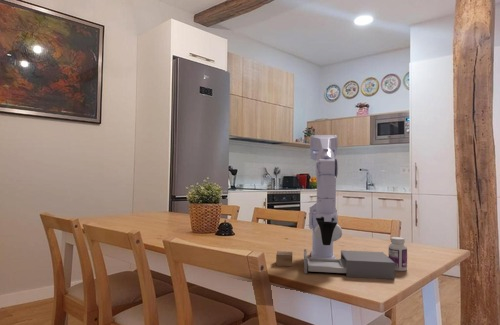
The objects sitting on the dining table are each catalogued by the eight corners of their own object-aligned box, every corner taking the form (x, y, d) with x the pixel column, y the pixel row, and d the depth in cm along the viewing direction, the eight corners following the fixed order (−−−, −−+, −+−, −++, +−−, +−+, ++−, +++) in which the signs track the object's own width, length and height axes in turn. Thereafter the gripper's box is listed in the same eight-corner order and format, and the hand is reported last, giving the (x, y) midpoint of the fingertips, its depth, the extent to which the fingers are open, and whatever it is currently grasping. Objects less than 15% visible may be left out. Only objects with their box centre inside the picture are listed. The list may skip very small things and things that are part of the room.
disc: (312, 240, 114) (312, 235, 115) (338, 243, 114) (338, 239, 115) (317, 224, 108) (317, 220, 110) (344, 228, 108) (344, 223, 109)
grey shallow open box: (303, 262, 119) (303, 249, 119) (344, 264, 117) (344, 251, 118) (304, 273, 106) (304, 258, 106) (350, 275, 104) (350, 261, 104)
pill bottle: (402, 267, 116) (402, 236, 117) (410, 271, 111) (410, 239, 111) (385, 266, 116) (385, 236, 117) (392, 271, 111) (392, 239, 111)
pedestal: (276, 261, 120) (277, 251, 120) (292, 262, 119) (292, 251, 119) (276, 265, 115) (276, 254, 115) (292, 266, 114) (292, 255, 114)
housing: (340, 264, 118) (340, 250, 118) (382, 266, 116) (382, 252, 116) (346, 276, 104) (347, 260, 104) (394, 279, 102) (394, 262, 102)
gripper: (311, 196, 120) (311, 238, 119) (314, 199, 105) (313, 246, 105) (333, 197, 119) (333, 239, 119) (339, 199, 105) (338, 247, 104)
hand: (325, 242), depth 112 cm, fingers closed on disc, 7 cm apart
